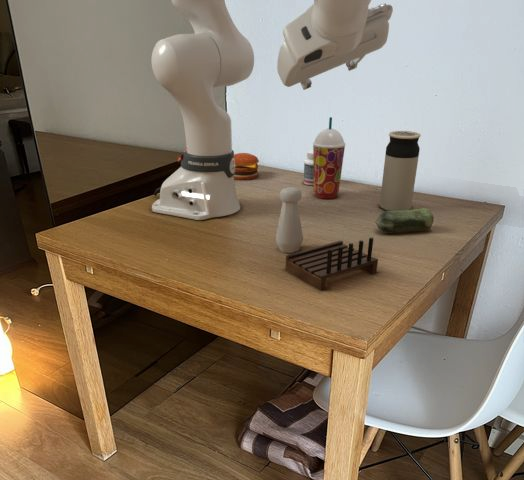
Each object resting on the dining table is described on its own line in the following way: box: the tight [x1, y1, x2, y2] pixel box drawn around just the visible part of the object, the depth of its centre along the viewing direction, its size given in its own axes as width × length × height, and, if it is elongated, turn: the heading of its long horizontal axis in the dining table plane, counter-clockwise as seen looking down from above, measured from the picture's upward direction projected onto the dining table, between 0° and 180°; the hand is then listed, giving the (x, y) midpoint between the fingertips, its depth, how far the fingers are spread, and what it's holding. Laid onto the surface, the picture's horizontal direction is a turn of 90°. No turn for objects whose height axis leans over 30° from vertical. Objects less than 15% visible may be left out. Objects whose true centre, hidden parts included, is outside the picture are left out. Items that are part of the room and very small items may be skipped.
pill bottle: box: [303, 149, 314, 186], centre depth 157 cm, size 5×5×9 cm
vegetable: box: [374, 207, 435, 234], centre depth 124 cm, size 14×5×5 cm, turn 102°
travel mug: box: [379, 130, 421, 211], centre depth 135 cm, size 8×8×18 cm
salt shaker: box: [275, 186, 304, 254], centre depth 113 cm, size 6×6×13 cm
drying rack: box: [285, 237, 379, 291], centre depth 105 cm, size 11×14×7 cm
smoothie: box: [312, 116, 346, 200], centre depth 143 cm, size 8×8×20 cm
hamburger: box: [234, 152, 260, 181], centre depth 164 cm, size 9×10×7 cm
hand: (328, 76), depth 103 cm, fingers open, 8 cm apart
